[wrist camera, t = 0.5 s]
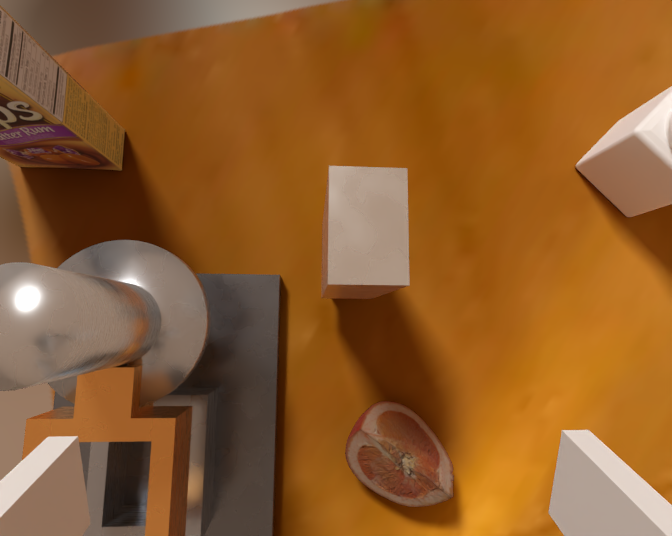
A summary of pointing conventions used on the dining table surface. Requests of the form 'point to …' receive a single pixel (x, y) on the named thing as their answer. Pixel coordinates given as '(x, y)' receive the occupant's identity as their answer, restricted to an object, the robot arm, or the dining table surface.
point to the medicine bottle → (635, 159)
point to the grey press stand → (152, 385)
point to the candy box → (49, 110)
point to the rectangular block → (365, 232)
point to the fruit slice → (399, 456)
